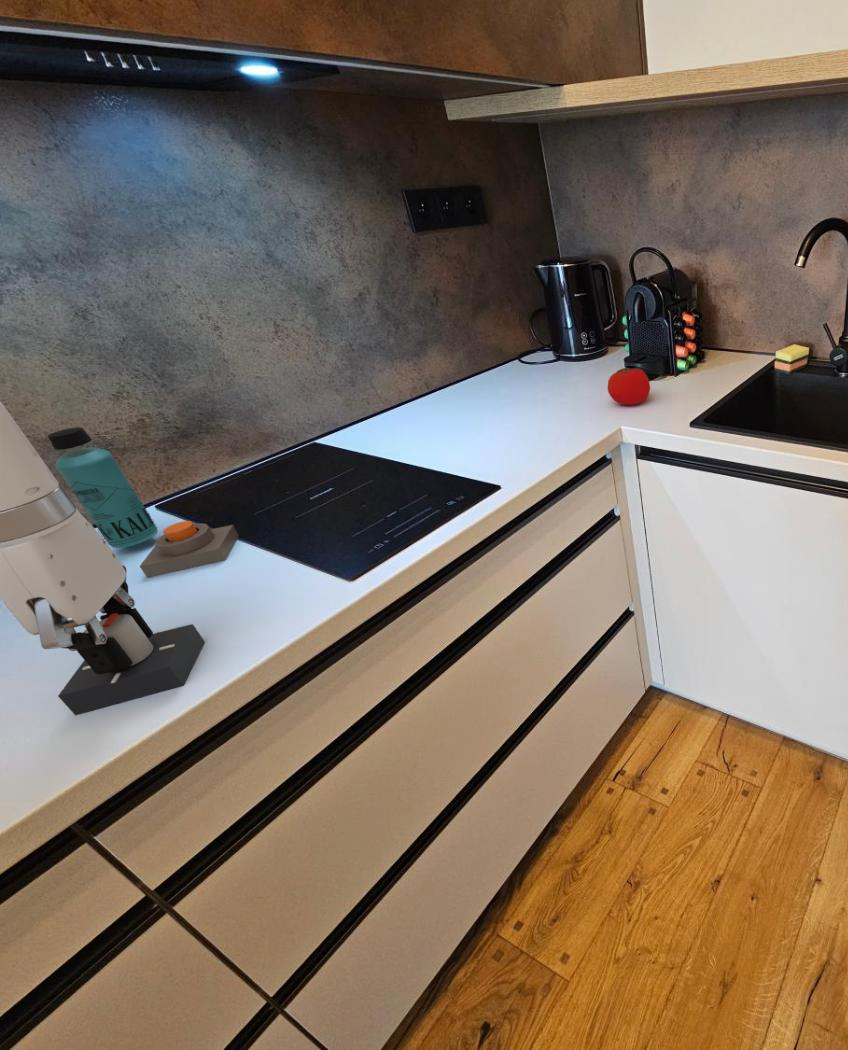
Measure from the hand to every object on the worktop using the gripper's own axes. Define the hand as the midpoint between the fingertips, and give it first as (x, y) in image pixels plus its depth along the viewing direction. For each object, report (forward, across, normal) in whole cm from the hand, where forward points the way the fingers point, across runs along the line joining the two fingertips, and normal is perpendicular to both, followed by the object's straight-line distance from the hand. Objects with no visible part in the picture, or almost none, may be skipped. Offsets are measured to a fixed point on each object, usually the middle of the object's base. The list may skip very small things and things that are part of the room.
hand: (125, 652), depth 66 cm
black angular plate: (+4, 0, 0) cm, 4 cm away
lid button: (0, -29, -4) cm, 30 cm away
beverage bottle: (+4, -38, -14) cm, 40 cm away
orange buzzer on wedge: (+4, -29, -4) cm, 30 cm away
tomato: (+4, -64, +75) cm, 98 cm away
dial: (+1, 0, 0) cm, 1 cm away
